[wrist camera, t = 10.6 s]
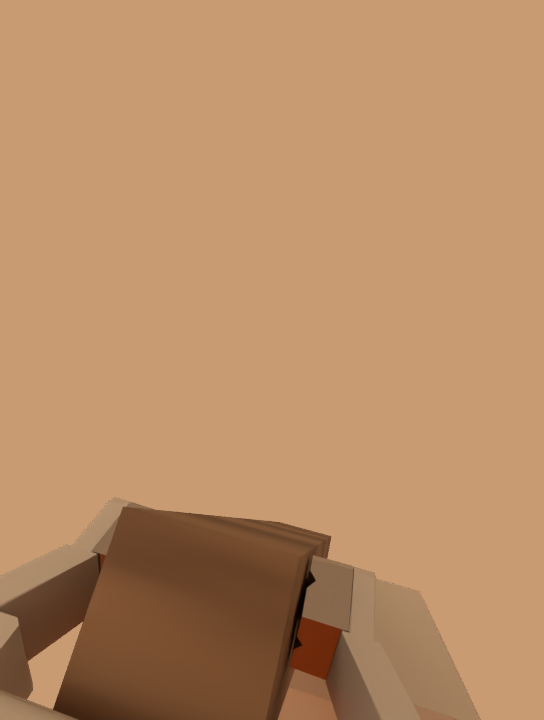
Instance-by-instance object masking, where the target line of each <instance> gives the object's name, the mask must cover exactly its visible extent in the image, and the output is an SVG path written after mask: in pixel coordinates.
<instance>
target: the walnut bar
mask: <svg viewBox="0 0 544 720" xmlns="http://www.w3.org/2000/svg"><path fill="white" fill-rule="evenodd" d="M330 541H331V536H328V535H325V534H321V533H317V532H313V531H310V530H306V529H302V528H298V527H295V526H291V525H288V524H284V523H280V522H271V521H262V520H252V519H241V518H232V517H222V516H212V515H202V514H192V513H182V512H172V511H161V510H152V509H142V508H132V507H123V508H122V511H121V514H120V517H119V519H118V522H117V525H116V528H115V531H114V534H113V537H112V540H111V543H110V546H109V548H108V551H107V554H106V557H105V560H104V563H103V566H102V569H101V572H100V575H99V578H98V580H97V583H96V586H95V589H94V592H93V595H92V598H91V601H90V604H89V607H88V609H87V612H86V615H85V618H84V621H83V624H82V627H81V630H80V633H79V636H78V639H77V642H76V645H75V648H74V650H73V653H72V656H71V659H70V662H69V665H68V668H67V671H66V674H65V676H64V679H63V682H62V685H61V688H60V691H59V694H58V697H57V700H56V702H55V706H54V708H53V710H55V711H58V712H60V713H63V714H65V715H68V716H71V717H73V718H76V719H78V720H278V717H279V714H280V711H281V708H282V705H283V703H284V700H285V697H286V694H287V691H288V688H289V685H290V682H291V679H292V676H293V673H294V670H295V669H294V668H291V667H290V662H291V656H292V651H293V645H294V640H295V635H296V631H297V626H298V622H299V614H300V609H301V604H302V600H303V595H304V590H305V585H306V581H307V578H308V573H309V568H310V564H311V560H312V556H313V555H314V556H318V557H322V558H325V559H327V557H328V551H329V546H330Z"/></svg>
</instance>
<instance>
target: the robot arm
mask: <svg viewBox="0 0 544 720" xmlns="http://www.w3.org/2000/svg"><path fill="white" fill-rule="evenodd" d="M123 507H132V508H142V509H151V508H148V507H145V506H142V505H138V504H135V503H132V502H129V501H126V500H122V499H119V498H115V497H114V498H113V499H111V500H109V501H108V503H106V505H105V506H104V507H103V508H102V510H101V511H100V512H99V514H97V516H96V517H95V518H94V519H93V520H92V522H91V523H90V524H89V525H88V527H87V528H86V529H85V530H84V532H83V533H82V534H81V535H80V536H79V538H78V539H77V540H76V541H75V543H74V544H73V545H68V544H66V545H64V546H62V547H59V548H58V549H55V550H53V551H51V552H49V553H47V554H45V555H43V556H41V557H39V558H36V559H34V560H32V561H30V562H28V563H26V564H24V565H22V566H20V567H18V568H16V569H14V570H11V571H9V572H7V573H5V574H3V575H1V576H0V720H78V719H76V718H73V717H71V716H68V715H65V714H63V713H60V712H58V711H55V710H52V709H50V708H47V707H45V706H42V705H39V704H37V703H34V702H32V701H29V700H27V698H28V697H29V695H30V694H31V692H32V691H33V683H32V678H31V674H30V669H29V665H28V661H29V660H30V659H31V658H33V657H34V656H36V655H37V654H38V653H40V652H41V651H43V650H44V649H45V648H47V647H48V646H50V645H51V644H52V643H54V642H55V641H57V640H58V639H59V638H61V637H62V636H63V635H65V634H66V633H68V632H69V631H70V630H72V629H73V628H74V627H76V626H77V625H79V624H80V623H81V622H83V621H84V618H85V615H86V612H87V609H88V607H89V604H90V601H91V598H92V595H93V592H94V589H95V586H96V583H97V580H98V578H99V575H100V572H101V569H102V566H103V563H104V560H105V557H106V554H107V551H108V548H109V546H110V543H111V540H112V537H113V534H114V531H115V528H116V525H117V522H118V519H119V517H120V514H121V511H122V508H123ZM152 510H154V509H152ZM375 595H376V576H375V573H373V572H370V571H366V570H363V569H359V568H356V567H353V566H351V565H347V564H343V563H339V562H336V561H332V560H329V559H325V558H322V557H318V556H314V555H313V556H312V560H311V564H310V568H309V573H308V578H307V581H306V585H305V590H304V595H303V600H302V604H301V609H300V614H299V622H298V626H297V631H296V635H295V640H294V645H293V651H292V656H291V662H290V667H291V668H294V669H296V670H299V671H302V672H305V673H307V674H310V675H313V676H315V677H318V678H321V679H324V680H326V682H325V683H326V686H327V689H328V692H329V695H330V698H331V701H332V704H333V707H334V710H335V713H336V716H337V720H421V718H420V716H419V714H418V712H417V710H416V709H415V707H414V705H413V703H412V701H411V699H410V697H409V695H408V693H407V691H406V689H405V688H404V686H403V684H402V682H401V680H400V678H399V676H398V674H397V672H396V670H395V668H394V667H393V665H392V663H391V661H390V659H389V657H388V655H387V653H386V651H385V649H384V648H383V646H382V644H381V643H379V642H377V641H375Z"/></svg>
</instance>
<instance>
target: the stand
mask: <svg viewBox="0 0 544 720" xmlns="http://www.w3.org/2000/svg"><path fill="white" fill-rule="evenodd" d="M375 641H377V642H379V643H381V644H382V646H383V648H384V649H385V651H386V653H387V655H388V657H389V659H390V661H391V663H392V665H393V667H394V668H395V670H396V672H397V674H398V676H399V678H400V680H401V682H402V684H403V686H404V688H405V689H406V691H407V693H408V695H409V697H410V699H411V701H412V703H413V705H414V707H415V709H416V710H417V712H418V714H419V716H420V718H421V720H480V717H479V715H478V713H477V711H476V709H475V707H474V705H473V703H472V700H471V698H470V696H469V694H468V692H467V690H466V688H465V686H464V684H463V681H462V679H461V677H460V675H459V673H458V671H457V669H456V667H455V665H454V662H453V661H452V658H451V656H450V654H449V652H448V650H447V648H446V646H445V644H444V641H443V639H442V637H441V635H440V633H439V631H438V629H437V627H436V624H435V622H434V620H433V618H432V616H431V614H430V612H429V610H428V608H427V605H426V603H425V601H424V599H423V597H422V595H421V593H420V591H417V590H413V589H410V588H406V587H403V586H399V585H396V584H393V583H389V582H386V581H382V580H378V579H376V595H375ZM325 682H326V680H324V679H321V678H318V677H315V676H313V675H310V674H307V673H305V672H302V671H299V670H296V669H295V670H294V673H293V676H292V679H291V682H290V685H289V688H288V691H287V694H286V697H285V700H284V703H283V705H282V708H281V711H280V714H279V717H278V720H337V716H336V713H335V710H334V707H333V704H332V701H331V698H330V695H329V692H328V689H327V686H326V683H325Z"/></svg>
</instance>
